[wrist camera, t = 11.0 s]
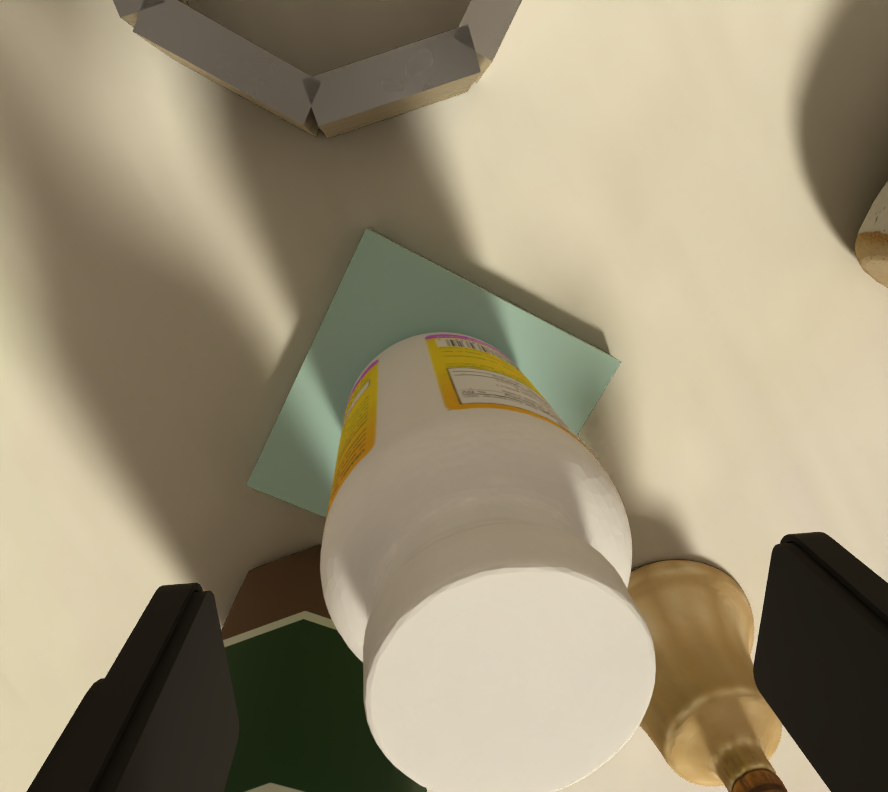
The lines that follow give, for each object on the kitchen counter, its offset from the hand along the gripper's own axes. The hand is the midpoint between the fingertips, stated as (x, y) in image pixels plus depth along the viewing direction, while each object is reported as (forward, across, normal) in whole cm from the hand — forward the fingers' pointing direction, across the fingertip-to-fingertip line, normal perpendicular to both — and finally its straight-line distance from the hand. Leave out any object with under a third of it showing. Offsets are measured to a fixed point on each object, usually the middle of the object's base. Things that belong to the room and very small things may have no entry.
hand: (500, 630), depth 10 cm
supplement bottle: (+12, 0, +1) cm, 12 cm away
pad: (+13, 0, +1) cm, 13 cm away
